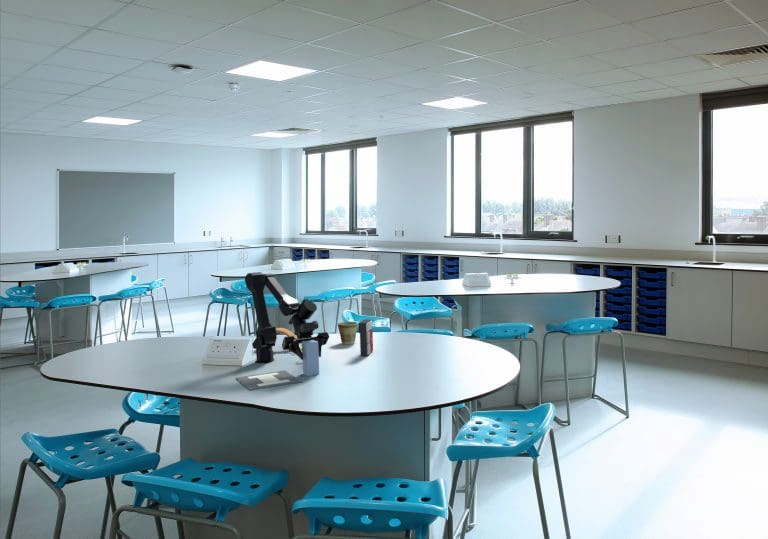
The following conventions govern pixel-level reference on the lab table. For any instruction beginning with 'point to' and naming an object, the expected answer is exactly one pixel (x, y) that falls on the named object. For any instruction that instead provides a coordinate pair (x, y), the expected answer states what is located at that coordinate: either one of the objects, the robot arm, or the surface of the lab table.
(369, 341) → the black and red box
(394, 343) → the lab table surface
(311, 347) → the blue block
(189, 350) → the lab table surface
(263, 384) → the letter mat
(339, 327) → the ceramic cup
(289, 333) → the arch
